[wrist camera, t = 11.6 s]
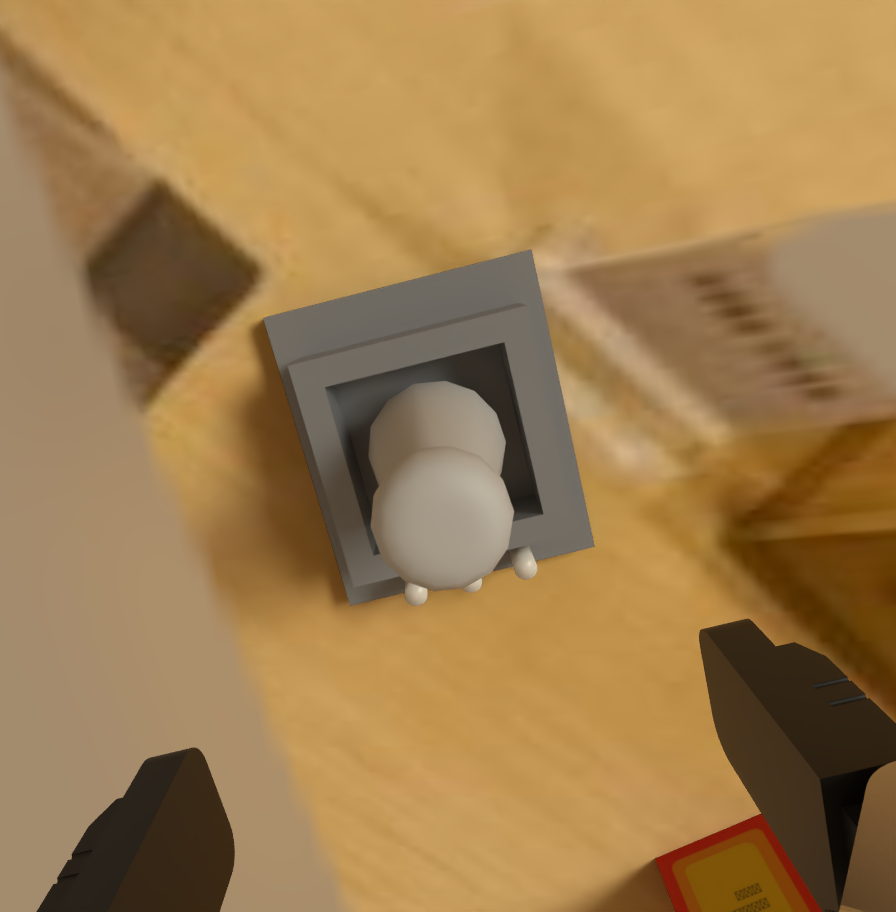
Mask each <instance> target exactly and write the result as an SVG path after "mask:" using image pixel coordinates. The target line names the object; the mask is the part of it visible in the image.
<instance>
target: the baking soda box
mask: <svg viewBox="0 0 896 912" xmlns="http://www.w3.org/2000/svg"><path fill="white" fill-rule="evenodd" d="M655 860H656V862H657V865H658V868H659V870H660V873H661V875H662V878H663V880H664V883H665V886H666V888H667V891H668V893H669V896H670V898H671V901H672V903H673V906H674V909H675V911H676V912H822V911H821V909H820V907H819V906H818V904H817V902H816V901H815V899H814V898H813V896H812V894H811V893H810V891H809V890H808V888H807V886H806V885H805V883H804V881H803V880H802V878H801V877H800V875H799V873H798V872H797V870H796V868H795V867H794V865H793V864H792V862H791V860H790V859H789V857H788V856H787V854H786V852H785V851H784V849H783V847H782V846H781V844H780V843H779V841H778V839H777V838H776V836H775V834H774V833H773V831H772V830H771V828H770V826H769V825H768V823H767V822H766V820H765V818H764V817H763V815H762V814H760V815H757V816H755V817H752V818H750V819H748V820H745V821H743V822H741V823H738V824H736V825H734V826H731V827H729V828H726V829H724V830H722V831H719V832H717V833H715V834H712V835H710V836H708V837H705V838H703V839H700V840H698V841H696V842H693V843H691V844H689V845H686V846H684V847H681V848H679V849H677V850H674V851H672V852H670V853H667V854H665V855H663V856H660V857H658V858H655Z"/></svg>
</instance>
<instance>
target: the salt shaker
mask: <svg viewBox="0 0 896 912" xmlns="http://www.w3.org/2000/svg"><path fill="white" fill-rule="evenodd" d="M505 445H506V441H505V438H504V435H503V432H502V429H501V426H500V423H499V420H498V417H497V414H496V412H495V411H494V410H493V409H492V408H491V407H490V406H489V405H488V404H487V403H486V402H485V401H484V400H483V399H482V398H481V397H480V396H479V395H478V394H477V393H476V392H475V391H473V390H470V389H467V388H464V387H462V386H459V385H456V384H453V383H450V382H447V381H439V382H428V383H418V384H413V385H411V386H410V387H408V388H407V389H405V390H403V391H402V392H400V393H399V394H397V395H396V396H394V397H393V398H391V399H389V400H388V401H387V402H386V404H385V405H384V407H383V408H382V410H381V411H380V413H379V415H378V416H377V418H376V419H375V421H374V422H373V424H372V425H371V428H370V441H369V454H368V457H369V460H370V463H371V466H372V468H373V471H374V474H375V477H376V480H377V483H378V485H379V487H378V489H377V490H376V492H375V494H374V496H373V507H372V518H371V529H372V532H373V535H374V538H375V541H376V543H377V546H378V549H379V551H380V554H381V557H382V559H383V562H385V563H386V564H387V565H388V566H389V567H390V568H391V569H392V570H393V571H394V572H396V573H397V574H398V575H399V576H400V577H401V578H402V579H403V580H404V581H405V582H408V583H411V584H414V585H417V586H420V587H423V588H426V589H429V590H432V591H441V590H449V589H458V588H465V587H467V586H469V585H470V584H472V583H474V582H476V581H477V580H479V579H481V578H483V577H484V576H486V575H488V574H490V573H491V572H492V571H493V569H494V568H495V566H496V565H497V563H498V562H499V560H500V559H501V558H502V556H503V555H504V553H505V552H506V550H507V549H508V545H509V540H510V534H511V528H512V521H513V515H514V510H513V507H512V504H511V501H510V498H509V495H508V492H507V489H506V487H505V484H504V481H503V480H502V478H501V477H500V474H501V472H502V465H503V458H504V452H505Z"/></svg>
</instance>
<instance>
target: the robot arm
mask: <svg viewBox="0 0 896 912" xmlns="http://www.w3.org/2000/svg"><path fill="white" fill-rule="evenodd" d="M699 642H700V648H701V654H702V659H703V665H704V671H705V676H706V682H707V687H708V693H709V698H710V704H711V710H712V715H713V720H714V724H715V727H716V731H717V734H718V737H719V740H720V742H721V745H722V747H723V750H724V752H725V754H726V756H727V758H728V760H729V762H730V763H731V765H732V766H733V768H734V770H735V771H736V773H737V775H738V776H739V778H740V779H741V781H742V783H743V784H744V786H745V788H746V789H747V791H748V792H749V794H750V796H751V797H752V799H753V800H754V802H755V804H756V805H757V807H758V809H759V810H760V812H761V813H762V815H763V817H764V818H765V820H766V822H767V823H768V825H769V826H770V828H771V830H772V831H773V833H774V834H775V836H776V838H777V839H778V841H779V843H780V844H781V846H782V847H783V849H784V851H785V852H786V854H787V856H788V857H789V859H790V860H791V862H792V864H793V865H794V867H795V868H796V870H797V872H798V873H799V875H800V877H801V878H802V880H803V881H804V883H805V885H806V886H807V888H808V890H809V891H810V893H811V894H812V896H813V898H814V899H815V901H816V902H817V904H818V906H819V907H820V909H821V911H822V912H896V723H895V722H894V721H893V720H892V719H891V718H890V717H889V716H887V715H886V714H885V713H884V712H883V711H882V710H881V709H880V708H879V707H878V706H877V705H876V704H875V703H874V702H873V701H872V700H871V699H870V698H868V699H867V698H866V696H865V693H864V692H863V691H862V690H860V689H859V688H858V687H857V686H856V685H855V684H854V683H853V682H852V681H849V680H848V678H847V676H846V675H845V674H844V673H843V672H842V671H841V670H840V669H839V668H838V667H837V666H836V665H835V664H833V663H832V662H831V661H830V660H829V659H828V658H827V657H826V656H824V655H822V654H820V653H817V652H815V651H813V650H811V649H808V648H806V647H804V646H802V645H799V644H797V643H795V642H793V643H789V644H785V645H781V646H775V645H774V644H773V643H772V642H771V641H770V640H769V639H768V638H767V637H766V635H765V634H764V633H763V632H762V631H761V630H760V629H759V628H758V627H757V626H756V625H755V624H754V623H753V622H752V621H751V620H750V619H744V620H739V621H735V622H731V623H727V624H722V625H718V626H714V627H710V628H705V629H701V630H700V633H699ZM234 854H235V850H234V839H233V833H232V829H231V827H230V823H229V821H228V818H227V815H226V813H225V810H224V807H223V805H222V802H221V799H220V797H219V794H218V792H217V788H216V786H215V783H214V780H213V778H212V775H211V772H210V770H209V767H208V764H207V762H206V760H205V757H204V755H203V754H202V752H201V751H200V750H199V749H197V748H189V749H185V750H181V751H177V752H173V753H168V754H164V755H160V756H156V757H151V758H148V759H147V760H145V761H144V763H143V764H142V766H141V767H140V769H139V771H138V773H137V775H136V776H135V778H134V780H133V781H132V783H131V785H130V787H129V788H128V790H127V792H126V793H125V795H124V797H123V798H119V799H116V800H115V801H114V802H113V803H112V804H111V805H110V806H109V807H108V808H107V809H106V810H105V811H104V812H103V813H102V814H101V815H100V816H99V817H98V818H97V819H96V820H95V821H94V822H93V823H92V824H91V825H90V826H89V827H88V828H87V830H86V832H85V833H84V835H83V837H82V838H81V840H80V842H79V843H78V845H77V846H76V848H75V850H74V851H73V853H72V859H71V860H68V861H67V863H66V865H65V866H64V868H63V869H62V871H61V873H60V874H59V876H58V878H57V879H58V882H57V884H53V886H52V887H51V889H50V891H49V892H48V894H47V896H46V897H45V899H44V901H43V902H42V904H41V905H40V907H39V909H38V910H37V912H220V909H221V906H222V903H223V900H224V897H225V893H226V890H227V887H228V884H229V881H230V878H231V875H232V871H233V867H234V856H235V855H234Z"/></svg>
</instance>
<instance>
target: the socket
mask: <svg viewBox="0 0 896 912" xmlns="http://www.w3.org/2000/svg"><path fill="white" fill-rule="evenodd" d="M263 319H264V323H265V326H266V329H267V333H268V336H269V339H270V343H271V346H272V349H273V352H274V356H275V359H276V362H277V366H278V369H279V372H280V376H281V379H282V382H283V385H284V389H285V392H286V395H287V399H288V402H289V405H290V409H291V412H292V415H293V418H294V422H295V425H296V428H297V432H298V435H299V438H300V442H301V445H302V448H303V452H304V455H305V458H306V461H307V465H308V468H309V471H310V475H311V478H312V481H313V485H314V488H315V491H316V494H317V498H318V501H319V504H320V508H321V511H322V514H323V518H324V521H325V524H326V527H327V531H328V534H329V537H330V541H331V544H332V547H333V551H334V554H335V557H336V561H337V564H338V567H339V570H340V574H341V577H342V580H343V584H344V587H345V590H346V594H347V597H348V600H349V603H350V606H351V605H355V604H360V603H364V602H368V601H372V600H376V599H380V598H384V597H388V596H393V595H397V594H401V593H405V599H406V601H407V602H408V603H409V604H411V605H413V606H419V605H421V604H423V603H424V602H425V601H426V599H427V589H426V588H423V587H420V586H417V585H414V584H411V583H408V582H405V581H404V580H403V579H402V578H401V577H400V576H399V575H398V574H397V573H396V572H394V571H393V570H392V569H391V568H390V567H389V566H388V565H387V564H386V563H385V562H383V559H382V557H381V554H380V551H379V549H378V546H377V543H376V541H375V538H374V535H373V532H372V529H371V518H372V507H373V496H374V494H375V492H376V490H377V489H378V487H379V485H378V483H377V480H376V477H375V474H374V471H373V468H372V466H371V463H370V460H369V457H368V454H369V441H370V428H371V425H372V424H373V422H374V421H375V419H376V418H377V416H378V415H379V413H380V411H381V410H382V408H383V407H384V405H385V404H386V402H387V401H388V400H389V399H391V398H393V397H394V396H396V395H397V394H399V393H400V392H402V391H403V390H405V389H407V388H408V387H410V386H411V385H413V384H418V383H428V382H439V381H447V382H450V383H453V384H456V385H459V386H462V387H464V388H467V389H470V390H473V391H475V392H476V393H477V394H478V395H479V396H480V397H481V398H482V399H483V400H484V401H485V402H486V403H487V404H488V405H489V406H490V407H491V408H492V409H493V410H494V411H495V412H496V414H497V417H498V420H499V423H500V426H501V429H502V432H503V435H504V438H505V441H506V445H505V452H504V458H503V465H502V472H501V474H500V477H501V478H502V480H503V481H504V484H505V487H506V489H507V492H508V495H509V498H510V501H511V504H512V507H513V510H514V515H513V521H512V528H511V534H510V540H509V545H508V549H507V550H506V552H505V553H504V555H503V556H502V558H501V559H500V560H499V562H498V563H497V565H496V566H495V568H494V569H493V571H496V570H500V569H504V568H508V567H514V570H515V573H516V575H517V576H518V577H519V578H521V579H530V578H532V577H533V576H534V575H535V574H536V572H537V565H536V562H535V561H537V560H542V559H546V558H550V557H554V556H558V555H562V554H566V553H571V552H575V551H579V550H583V549H587V548H591V547H595V546H594V541H593V536H592V532H591V527H590V522H589V518H588V513H587V508H586V503H585V499H584V494H583V489H582V485H581V480H580V475H579V471H578V466H577V461H576V456H575V452H574V447H573V442H572V438H571V433H570V428H569V424H568V419H567V414H566V409H565V405H564V400H563V395H562V391H561V386H560V381H559V377H558V372H557V367H556V363H555V358H554V353H553V348H552V344H551V339H550V334H549V330H548V325H547V320H546V316H545V311H544V306H543V301H542V297H541V292H540V287H539V283H538V278H537V273H536V269H535V264H534V259H533V254H532V250H527V251H523V252H520V253H516V254H512V255H508V256H504V257H500V258H496V259H492V260H488V261H484V262H480V263H476V264H472V265H469V266H465V267H461V268H457V269H453V270H449V271H445V272H441V273H437V274H433V275H429V276H425V277H422V278H418V279H414V280H410V281H406V282H402V283H398V284H394V285H390V286H386V287H382V288H378V289H374V290H371V291H367V292H363V293H359V294H355V295H351V296H347V297H343V298H339V299H335V300H331V301H327V302H324V303H320V304H316V305H312V306H308V307H304V308H300V309H296V310H292V311H288V312H284V313H280V314H276V315H273V316H269V317H265V318H263ZM481 585H482V578H481V579H479V580H477V581H476V582H474V583H472V584H470V585H469V586H467V587H465V588H462V589H463V590H464V591H466V592H469V593H472V592H476V591H477V590H479V589H480V587H481Z"/></svg>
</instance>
